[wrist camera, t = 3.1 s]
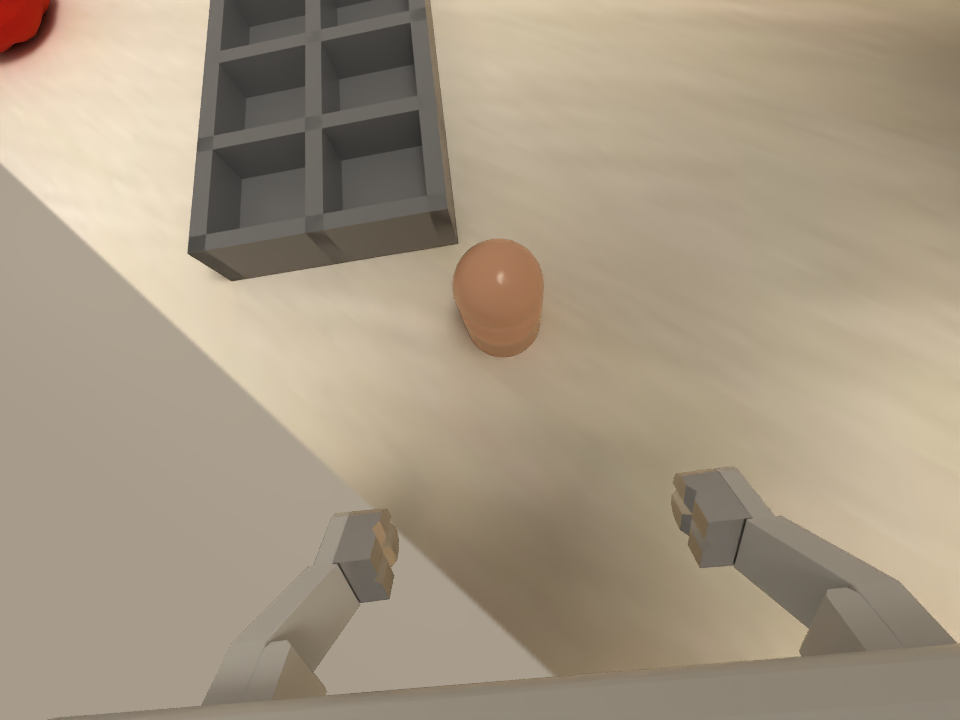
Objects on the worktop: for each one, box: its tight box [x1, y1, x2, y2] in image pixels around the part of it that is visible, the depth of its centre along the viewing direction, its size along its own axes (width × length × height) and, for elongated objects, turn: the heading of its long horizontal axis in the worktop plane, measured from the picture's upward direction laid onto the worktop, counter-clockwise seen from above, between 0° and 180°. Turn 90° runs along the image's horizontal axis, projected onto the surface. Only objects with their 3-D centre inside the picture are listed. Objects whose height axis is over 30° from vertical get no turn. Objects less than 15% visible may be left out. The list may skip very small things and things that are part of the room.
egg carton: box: [188, 0, 458, 281], centre depth 30 cm, size 17×25×4 cm
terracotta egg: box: [453, 239, 544, 357], centre depth 22 cm, size 5×5×8 cm
